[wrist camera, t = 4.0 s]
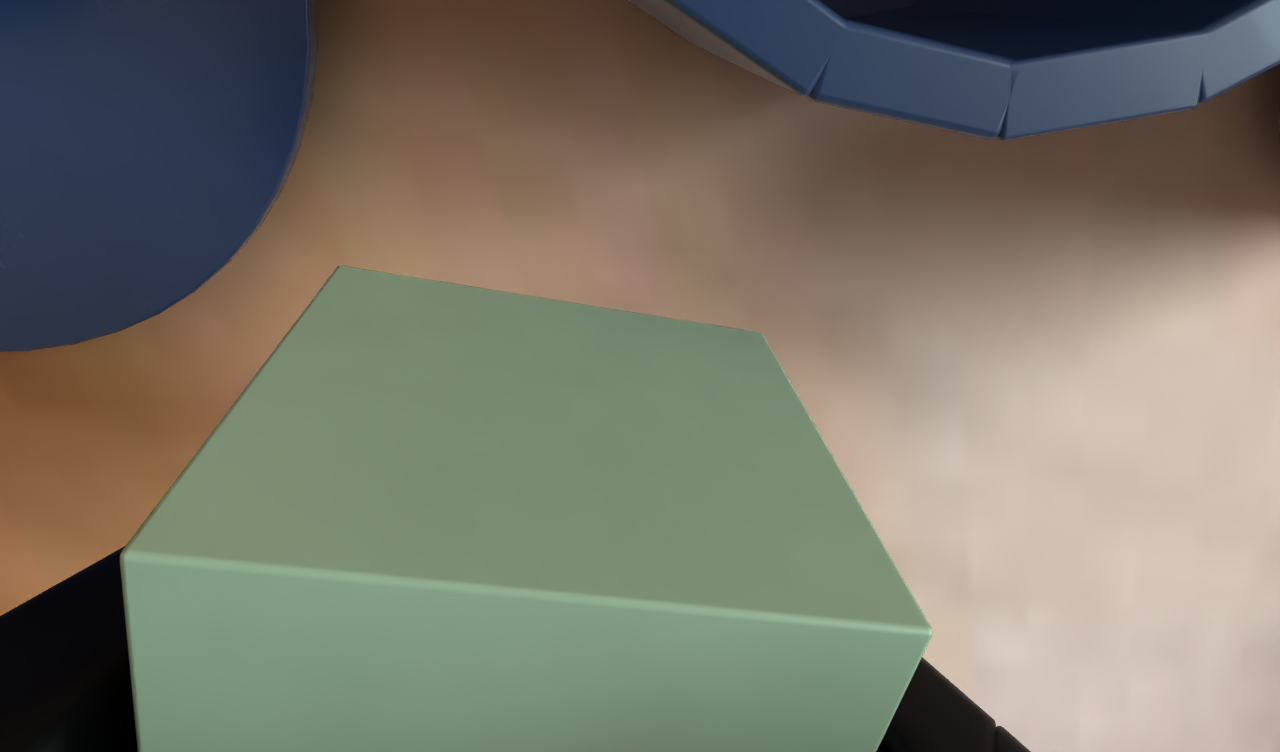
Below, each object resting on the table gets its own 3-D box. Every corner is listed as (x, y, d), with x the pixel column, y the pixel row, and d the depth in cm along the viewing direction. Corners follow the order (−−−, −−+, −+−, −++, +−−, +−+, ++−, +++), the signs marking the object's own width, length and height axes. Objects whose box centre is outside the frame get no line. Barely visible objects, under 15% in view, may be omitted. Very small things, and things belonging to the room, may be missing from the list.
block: (672, 635, 11) (742, 1034, 7) (321, 604, 10) (160, 1035, 6) (762, 331, 9) (937, 632, 5) (337, 263, 8) (116, 553, 4)
